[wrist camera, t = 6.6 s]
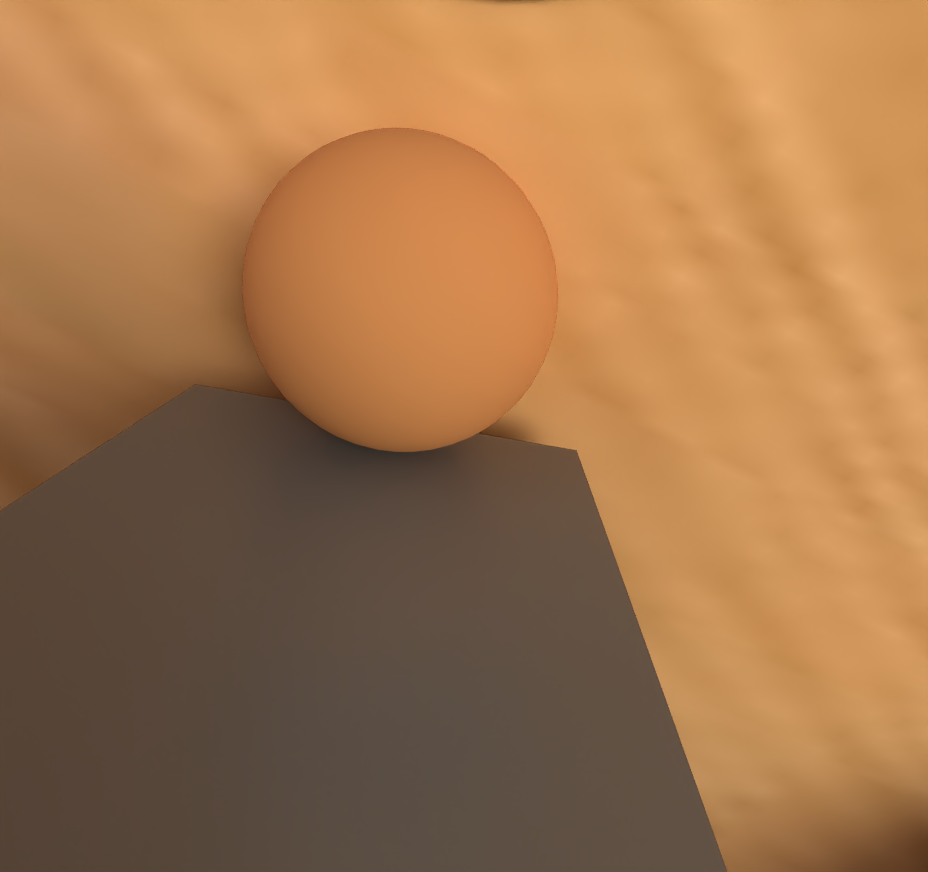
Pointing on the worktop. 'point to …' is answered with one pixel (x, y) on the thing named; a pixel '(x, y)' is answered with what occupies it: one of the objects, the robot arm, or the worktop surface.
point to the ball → (400, 290)
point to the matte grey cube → (327, 661)
